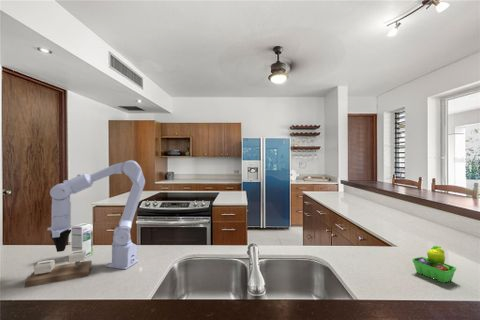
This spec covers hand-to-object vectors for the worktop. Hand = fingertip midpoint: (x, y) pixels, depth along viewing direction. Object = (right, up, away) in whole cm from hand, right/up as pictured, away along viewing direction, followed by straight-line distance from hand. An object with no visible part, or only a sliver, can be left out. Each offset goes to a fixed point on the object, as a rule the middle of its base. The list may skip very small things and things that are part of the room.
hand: (61, 250), depth 85 cm
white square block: (+5, -4, +2) cm, 7 cm away
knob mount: (0, -9, 0) cm, 9 cm away
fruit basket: (+143, -11, +1) cm, 144 cm away
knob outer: (-4, -6, -2) cm, 8 cm away
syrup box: (-4, -10, +17) cm, 20 cm away
